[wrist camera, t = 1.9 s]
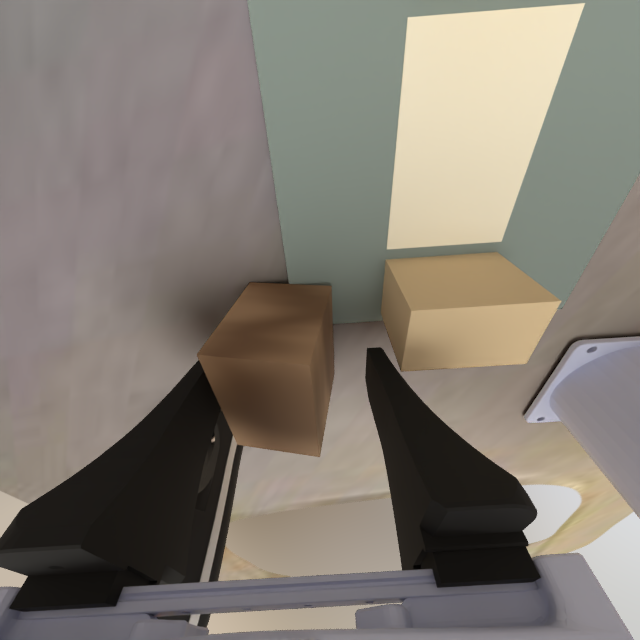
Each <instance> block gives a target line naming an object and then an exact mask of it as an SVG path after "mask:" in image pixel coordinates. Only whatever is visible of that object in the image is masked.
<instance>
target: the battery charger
mask: <svg viewBox="0 0 640 640" xmlns="http://www.w3.org/2000/svg"><path fill="white" fill-rule="evenodd" d="M242 450H243V445H237V443H236V440H235V438H234V436H233V434H232V432H231V429H230V427H229V425H228V423H227V421H226V418H225V416H224V414H223V412H222V411H220V413H219V416H218V419H217V423H216V426H215V429H214V432H213V435H212V439H211V442H210V445H209V448H208V451H207V455H206V458H205V462H204V466H203V470H202V475H201V480H200V485H199V490H198V495H197V500H196V506H195V511H194V518H193V524H192V530H191V537H190V544H189V552H188V560H187V568H186V577H185V578H184V579H183V581H182V582H181V583H180V584H182V583H199V582H215V581H218V578H219V573H220V568H221V564H222V559H223V554H224V549H225V544H226V538H227V533H228V527H229V522H230V517H231V511H232V506H233V500H234V494H235V488H236V483H237V477H238V470H239V465H240V460H241V455H242ZM209 618H210V614H194V615H177V616H160V617H157V619H158V620H186V621H187V622H188V623H189V624H192V625H195V626H200V627H205V628H207V625H208V622H209Z"/></svg>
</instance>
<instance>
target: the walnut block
mask: <svg viewBox="0 0 640 640" xmlns="http://www.w3.org/2000/svg"><path fill="white" fill-rule="evenodd" d="M197 357H198V359H199V361H200V363H201V365H202V368H203V370H204V372H205V374H206V376H207V379H208V381H209V383H210V385H211V387H212V390H213V392H214V394H215V396H216V398H217V401H218V403H219V405H220V407H221V410H222V412H223V414H224V416H225V418H226V421H227V423H228V425H229V427H230V429H231V432H232V434H233V436H234V438H235V440H236V443H237V445H243V446H250V447H256V448H263V449H270V450H276V451H283V452H290V453H296V454H303V455H310V456H316V457H320V453H321V447H322V442H323V436H324V430H325V424H326V419H327V413H328V407H329V401H330V396H331V390H332V384H333V379H334V346H333V315H332V286H325V285H301V284H278V283H255V282H250V283H249V284H248V286H247V287H246V288H245V290H244V291H243V293H242V294H241V295H240V297H239V298H238V299H237V301H236V302H235V303H234V305H233V306H232V307H231V309H230V310H229V312H228V313H227V314H226V316H225V317H224V318H223V320H222V321H221V322H220V324H219V325H218V326H217V328H216V329H215V331H214V332H213V333H212V335H211V336H210V337H209V339H208V340H207V341H206V343H205V344H204V345H203V347H202V348H201V350H200V351H199V352H198V354H197Z"/></svg>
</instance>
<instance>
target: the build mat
mask: <svg viewBox="0 0 640 640" xmlns="http://www.w3.org/2000/svg"><path fill="white" fill-rule="evenodd" d="M247 2H248V9H249V16H250V23H251V29H252V36H253V43H254V50H255V57H256V63H257V70H258V77H259V84H260V91H261V97H262V104H263V111H264V118H265V125H266V131H267V138H268V145H269V152H270V158H271V165H272V172H273V179H274V186H275V192H276V199H277V206H278V213H279V220H280V226H281V233H282V240H283V247H284V254H285V260H286V267H287V274H288V281H289V284H301V285H325V286H332V315H333V324H340V323H355V322H371V321H384V324H385V327H386V330H387V333H388V336H389V338H390V341H391V344H392V347H393V350H394V353H395V356H396V359H397V362H398V364H399V367H400V370H401V372H402V371H418V370H434V369H450V368H466V367H482V366H498V365H514V364H526V363H527V362H528V360H529V358H530V356H531V354H532V353H533V351H534V349H535V347H536V346H537V344H538V342H539V340H540V338H541V337H542V335H543V333H544V331H545V330H546V328H547V326H548V324H549V322H550V321H551V319H552V317H553V315H554V314H555V312H556V310H557V309H562V308H563V306H564V304H565V302H566V301H567V299H568V297H569V296H570V294H571V292H572V290H573V289H574V287H575V285H576V283H577V282H578V280H579V278H580V276H581V275H582V273H583V271H584V269H585V268H586V266H587V264H588V263H589V261H590V259H591V257H592V256H593V254H594V252H595V250H596V249H597V247H598V245H599V243H600V242H601V240H602V238H603V236H604V235H605V233H606V231H607V230H608V228H609V226H610V224H611V223H612V221H613V219H614V217H615V216H616V214H617V212H618V210H619V209H620V207H621V205H622V203H623V202H624V200H625V198H626V197H627V195H628V193H629V191H630V190H631V188H632V186H633V184H634V183H635V181H636V179H637V177H638V176H639V174H640V0H247Z"/></svg>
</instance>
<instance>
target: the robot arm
mask: <svg viewBox="0 0 640 640" xmlns="http://www.w3.org/2000/svg"><path fill="white" fill-rule="evenodd" d="M365 379H366V385H367V392H368V398H369V402H370V405H371V409H372V413H373V416H374V420H375V423H376V427H377V431H378V434H379V438H380V441H381V445H382V449H383V454H384V459H385V465H386V470H387V476H388V481H389V487H390V493H391V499H392V505H393V511H394V518H395V523H396V530H397V537H398V544H399V550H400V557H401V564H402V571H387V572H386V571H385V572H370V573H369V572H368V573H352V574H334V575H317V576H301V577H283V578H266V579H249V580H232V581H215V582H199V583H182V584H180V583H181V582H182V581H183V579H184V578H185V577H186V568H187V560H188V552H189V544H190V537H191V530H192V524H193V518H194V511H195V506H196V500H197V495H198V490H199V485H200V480H201V475H202V470H203V466H204V462H205V458H206V455H207V451H208V448H209V445H210V442H211V439H212V435H213V432H214V429H215V426H216V423H217V419H218V416H219V413H220V409H221V407H220V405H219V403H218V401H217V398H216V396H215V394H214V392H213V390H212V387H211V385H210V383H209V381H208V379H207V376H206V374H205V372H204V370H203V368H202V365H201V363H200V361H199V360H198V361H197V362H196V364H195V365H194V366H193V367H192V368H191V369H190V370H189V371H188V373H187V374H186V375H185V376H184V377H183V378H182V379H181V380H180V382H179V383H178V384H177V385H176V386H175V387H174V388H173V389H172V390H171V392H170V393H169V394H168V395H167V396H166V397H165V398H164V399H163V400H162V401H161V402H160V403H159V404H158V405H157V406H156V407H155V408H154V409H153V410H152V411H151V412H150V413H149V414H148V415H147V416H146V417H145V418H144V419H143V420H142V421H141V422H140V423H139V424H138V425H137V426H136V427H134V428H133V429H132V430H131V431H130V432H129V433H128V434H126V435H125V436H124V437H123V438H122V439H121V440H119V441H118V442H117V443H116V444H114V445H113V446H112V447H111V448H109V449H108V450H107V451H105V452H104V453H103V454H102V455H100V456H99V457H98V458H97V459H95V460H94V461H93V462H91V463H90V464H88V465H87V466H86V467H84V468H83V469H82V470H80V471H79V472H77V473H76V474H74V475H73V476H72V477H70V478H69V479H67V480H66V481H64V482H63V483H61V484H60V485H58V486H57V487H55V488H54V489H52V490H51V491H49V492H47V493H46V494H44V495H43V496H41V497H40V498H38V499H37V500H35V501H33V502H32V503H30V504H29V505H27V506H25V507H24V508H22V509H21V510H20V512H19V513H18V514H17V516H16V517H15V518H14V520H13V521H12V523H11V524H10V526H9V527H8V528H7V530H6V531H5V532H4V534H3V535H2V537H1V538H0V567H2V568H5V569H8V570H11V571H14V572H17V573H20V574H24V575H26V576H28V577H27V579H26V581H25V583H24V584H23V586H22V587H21V588H18V587H0V640H634V639H633V637H632V636H631V634H630V632H629V631H628V629H627V627H626V626H625V624H624V623H623V621H622V619H621V618H620V616H619V614H618V613H617V611H616V610H615V608H614V606H613V605H612V603H611V601H610V600H609V598H608V597H607V595H606V593H605V592H604V590H603V588H602V587H601V585H600V583H599V582H598V580H597V579H596V577H595V575H594V574H593V572H592V570H591V569H590V567H589V565H588V564H587V562H586V561H585V559H584V557H583V556H582V555H581V554H579V553H567V554H550V555H540V556H536V557H533V558H531V557H530V555H529V553H528V551H527V548H526V546H528V541H527V539H526V537H525V535H524V533H523V531H522V530H524V529H525V528H526V527H527V526H528V525H529V524H531V523H532V522H533V521H534V520H535V518H536V516H537V510H536V508H535V506H534V505H533V503H532V501H531V499H530V498H529V496H528V494H527V493H526V491H525V490H524V488H523V487H522V486H521V484H520V483H519V481H518V480H517V478H516V477H514V476H513V475H511V474H510V473H508V472H507V471H505V470H504V469H502V468H501V467H499V466H498V465H497V464H495V463H494V462H492V461H491V460H489V459H488V458H487V457H485V456H484V455H483V454H481V453H480V452H479V451H477V450H476V449H475V448H474V447H472V446H471V445H470V444H469V443H467V442H466V441H465V440H464V439H463V438H461V437H460V436H459V435H458V434H457V433H455V432H454V431H453V430H452V429H451V428H449V427H448V426H447V425H446V424H445V423H444V422H443V421H442V420H441V419H440V418H439V417H438V416H437V415H436V414H435V413H434V412H433V411H432V410H430V408H429V407H428V406H427V405H426V404H425V403H424V402H423V401H422V400H421V399H420V398H419V397H418V396H417V394H416V393H415V392H414V391H413V390H412V389H411V387H410V386H409V385H408V384H407V383H406V381H405V380H404V379H403V378H402V376H401V375H400V374H399V372H398V371H397V370H396V368H395V367H394V365H393V364H392V363H391V361H390V360H389V358H388V357H387V355H386V354H385V352H384V350H383V349H382V348H381V347H378V348H367V360H366V376H365ZM524 418H525V420H526V421H527V422H528V423H538V422H555V421H561V422H562V423H563V424H564V425H565V427H566V428H567V429H568V430H569V431H570V433H571V434H572V435H573V436H574V438H575V439H576V440H577V441H578V443H579V444H580V445H581V446H582V448H583V449H584V450H585V451H586V453H587V454H588V455H589V456H590V458H591V459H592V460H593V461H594V463H595V464H596V465H597V466H598V467H599V469H600V470H601V471H602V472H603V474H604V475H605V476H606V477H607V479H608V480H609V481H610V482H611V484H612V485H613V486H614V487H615V489H616V490H617V491H618V492H619V494H620V495H621V496H622V497H623V499H624V500H625V501H626V502H627V504H628V505H629V506H630V507H631V508H632V510H633V511H634V512H635V513H636V514H637V516H638V517H639V518H640V336H637V337H622V338H606V339H590V340H579V341H577V342H575V343H573V344H572V345H571V346H570V347H569V349H568V350H567V352H566V353H565V355H564V357H563V358H562V360H561V361H560V363H559V364H558V366H557V367H556V369H555V370H554V372H553V373H552V375H551V376H550V378H549V379H548V381H547V382H546V384H545V385H544V387H543V388H542V390H541V391H540V393H539V394H538V396H537V397H536V399H535V400H534V402H533V403H532V405H531V406H530V408H529V409H528V411H527V412H526V414H525V415H524ZM402 602H403V603H402ZM384 603H402V604H401V605H400V604H389V605H388V604H387V605H381V606H375V607H370V608H364V609H359V610H357V611H356V613H355V617H356V629H321V630H320V629H319V630H318V629H317V630H280V631H279V630H278V631H255V632H237V633H224V634H210V635H208V633H209V630H208V628H205V627H200V626H195V625H192V624H189V623H188V622H187V621H186V620H158V619H157V617H160V616H177V615H194V614H212V613H227V612H228V613H229V612H246V611H263V610H280V609H298V608H314V607H315V608H316V607H333V606H350V605H367V604H384Z"/></svg>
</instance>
